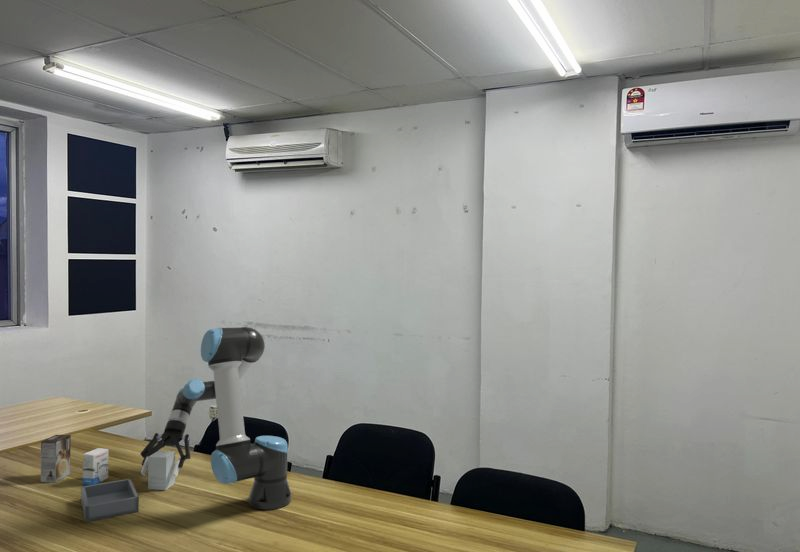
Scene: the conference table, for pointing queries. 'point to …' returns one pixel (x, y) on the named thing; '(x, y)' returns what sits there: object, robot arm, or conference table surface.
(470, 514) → the conference table surface
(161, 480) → the supplement box
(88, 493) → the tote
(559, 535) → the conference table surface
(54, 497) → the conference table surface
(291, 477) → the conference table surface
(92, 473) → the ink box
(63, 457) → the coffee box
